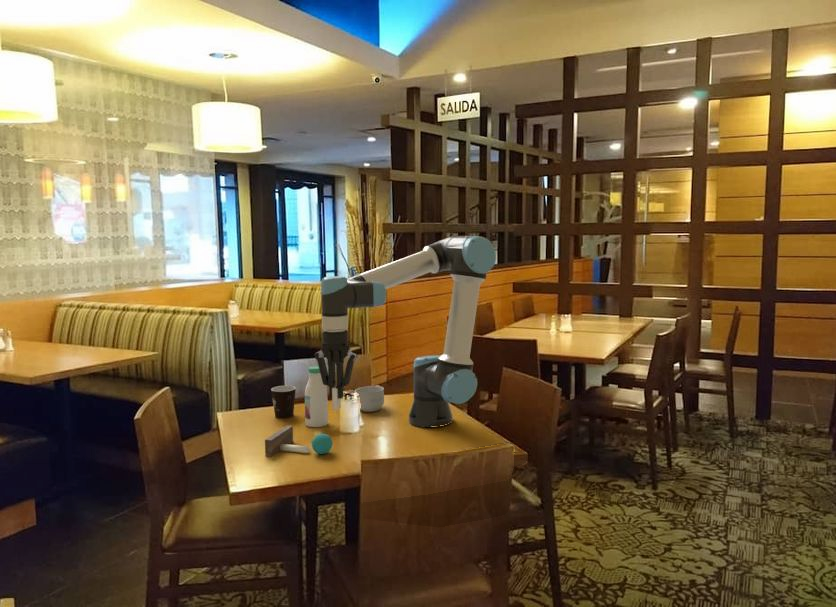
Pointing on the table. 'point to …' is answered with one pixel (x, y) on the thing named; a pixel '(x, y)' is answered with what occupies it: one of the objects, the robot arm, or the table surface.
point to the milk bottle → (316, 400)
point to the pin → (294, 448)
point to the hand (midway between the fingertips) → (336, 408)
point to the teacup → (371, 398)
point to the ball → (321, 443)
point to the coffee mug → (283, 401)
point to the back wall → (278, 440)
